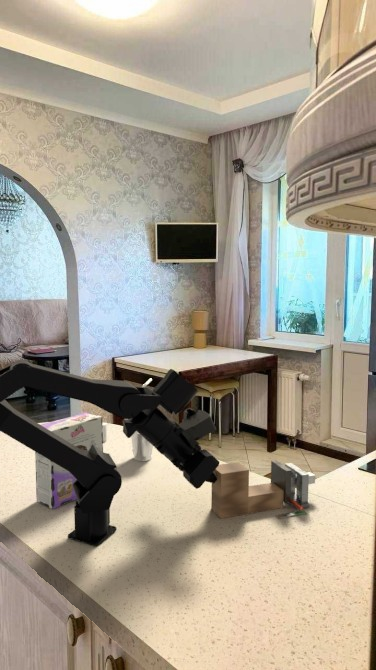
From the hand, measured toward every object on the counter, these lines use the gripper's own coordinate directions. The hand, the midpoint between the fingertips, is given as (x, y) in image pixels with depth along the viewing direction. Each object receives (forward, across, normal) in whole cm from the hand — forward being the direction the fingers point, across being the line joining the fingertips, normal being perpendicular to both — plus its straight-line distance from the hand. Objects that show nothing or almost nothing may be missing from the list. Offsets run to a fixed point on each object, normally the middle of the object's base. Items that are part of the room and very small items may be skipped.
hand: (215, 480), depth 99 cm
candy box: (-13, +18, +23) cm, 32 cm away
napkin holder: (-6, +54, +17) cm, 56 cm away
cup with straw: (+1, +35, +8) cm, 36 cm away
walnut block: (+10, 0, 0) cm, 10 cm away
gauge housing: (+15, -1, -6) cm, 17 cm away
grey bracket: (+17, -2, -9) cm, 19 cm away
